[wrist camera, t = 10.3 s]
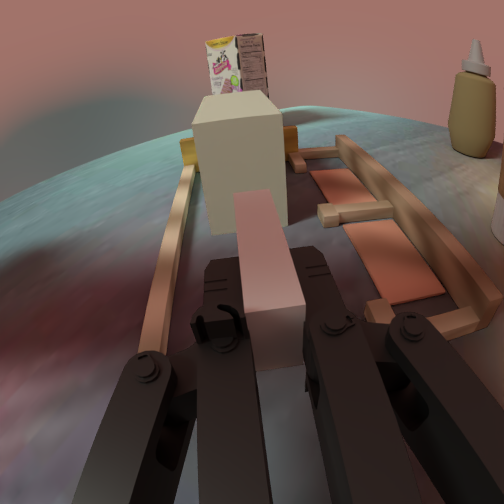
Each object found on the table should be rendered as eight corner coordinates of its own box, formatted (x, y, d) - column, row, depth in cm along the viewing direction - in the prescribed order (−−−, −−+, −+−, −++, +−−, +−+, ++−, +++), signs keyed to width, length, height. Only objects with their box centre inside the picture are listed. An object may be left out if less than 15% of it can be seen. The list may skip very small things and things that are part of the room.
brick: (288, 227, 25) (282, 113, 19) (211, 236, 25) (191, 124, 19) (266, 164, 36) (260, 89, 31) (215, 170, 36) (204, 96, 31)
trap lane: (487, 327, 14) (513, 276, 12) (140, 388, 14) (107, 341, 12) (344, 153, 37) (344, 123, 35) (186, 170, 37) (180, 139, 34)
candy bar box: (215, 127, 54) (203, 41, 44) (239, 121, 55) (229, 38, 46) (246, 137, 46) (234, 33, 36) (273, 131, 47) (264, 32, 38)
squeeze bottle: (437, 146, 39) (442, 31, 28) (456, 140, 42) (462, 39, 31) (482, 165, 33) (493, 41, 23) (496, 157, 36) (506, 50, 26)
